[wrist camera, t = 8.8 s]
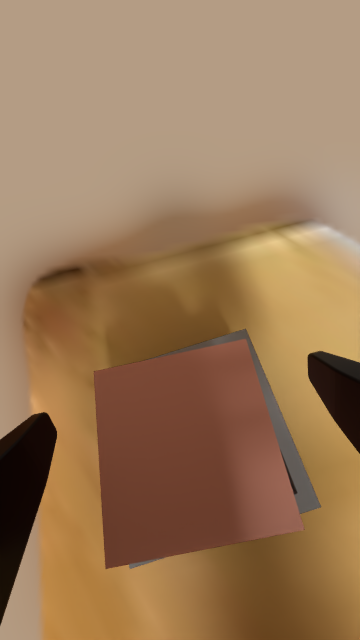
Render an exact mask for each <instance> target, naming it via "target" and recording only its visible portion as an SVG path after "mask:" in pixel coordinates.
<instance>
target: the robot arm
mask: <svg viewBox="0 0 360 640" xmlns="http://www.w3.org/2000/svg"><path fill="white" fill-rule="evenodd" d="M308 376H309V379H310V382H311V383H312V385H313V387H314V388H315V390H316V391H317V393H318V395H319V396H320V398H321V400H322V401H323V403H324V405H325V406H326V408H327V410H328V411H329V413H330V414H331V416H332V417H333V419H334V421H335V422H336V423H337V425H338V426H339V427H340V429H341V430H342V431H343V433H344V434H345V435H346V437H347V438H348V439H349V441H350V442H351V443H352V444H353V446H354V447H355V448H356V450H357V451H358V452H359V454H360V363H359V362H356V361H353V360H350V359H346V358H343V357H340V356H336V355H333V354H330V353H326V352H323V351H318V352H314V353H310V354H309V355H308ZM56 439H57V431H56V428H55V426H54V424H53V423H52V421H51V419H50V417H49V415H48V414H47V413H45V412H43V413H38V414H34V415H32V416H31V417H29V418H28V419H27V420H25V421H24V422H23V423H21V424H20V425H19V426H17V427H16V428H15V429H14V430H12V431H11V432H10V433H8V434H7V435H6V436H5V437H3V438H2V439H0V625H1V622H2V619H3V616H4V613H5V609H6V607H7V604H8V600H9V597H10V594H11V591H12V588H13V585H14V582H15V579H16V576H17V573H18V570H19V567H20V564H21V560H22V557H23V554H24V551H25V548H26V545H27V542H28V539H29V536H30V533H31V530H32V527H33V523H34V520H35V517H36V514H37V511H38V508H39V505H40V502H41V499H42V496H43V493H44V489H45V486H46V483H47V479H48V475H49V470H50V466H51V461H52V457H53V452H54V448H55V443H56Z"/></svg>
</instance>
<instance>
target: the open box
mask: <svg viewBox="0 0 360 640" xmlns="http://www.w3.org/2000/svg"><path fill="white" fill-rule="evenodd" d="M242 339H246V340H247V344H248V347H249V350H250V353H251V357H252V360H253V363H254V366H255V370H256V373H257V376H258V379H259V383H260V386H261V389H262V392H263V396H264V399H265V402H266V406H267V409H268V412H269V415H270V419H271V422H272V425H273V428H274V432H275V435H276V438H277V441H278V445H279V448H280V451H281V454H282V458H283V461H284V464H285V467H286V471H287V474H288V477H289V480H290V484H291V487H292V490H293V493H294V497H295V500H296V503H297V506H298V510H299V513H300V514H302V513H305V512H308V511H311V510H314V509H317V508H320V507H321V505H320V503H319V501H318V498H317V496H316V494H315V491H314V489H313V486H312V484H311V482H310V479H309V477H308V475H307V472H306V470H305V468H304V465H303V463H302V460H301V458H300V456H299V453H298V451H297V449H296V446H295V444H294V442H293V439H292V437H291V434H290V432H289V430H288V427H287V425H286V423H285V420H284V418H283V416H282V413H281V411H280V408H279V406H278V404H277V401H276V399H275V397H274V394H273V392H272V390H271V387H270V385H269V382H268V380H267V378H266V375H265V373H264V371H263V368H262V366H261V364H260V361H259V359H258V356H257V354H256V352H255V349H254V347H253V345H252V342H251V340H250V338H249V335H248V333H247V330H246V329H243V330H240V331H237V332H234V333H231V334H227V335H224V336H221V337H218V338H215V339H211V340H208V341H205V342H202V343H199V344H195V345H192V346H189V347H186V348H183V349H179V350H176V351H173V352H170V353H167V354H163V355H160V356H157V357H154V358H159V357H163V356H168V355H173V354H177V353H182V352H186V351H191V350H196V349H200V348H205V347H210V346H214V345H219V344H224V343H228V342H233V341H238V340H242ZM154 358H151V359H154ZM147 360H149V359H147ZM144 361H145V360H144ZM164 558H165V557H164ZM159 559H162V558H159ZM159 559H154V560H148V561H143V562H138V563H133V564H129V567H130V569H131V568H135V567H138V566H141V565H144V564H147V563H150V562H153V561H156V560H159Z"/></svg>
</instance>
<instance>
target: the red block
mask: <svg viewBox="0 0 360 640" xmlns="http://www.w3.org/2000/svg"><path fill="white" fill-rule="evenodd" d="M94 384H95V400H96V417H97V434H98V450H99V467H100V484H101V500H102V517H103V534H104V550H105V567H106V569H108V568H113V567H118V566H123V565H128V564H133V563H138V562H143V561H148V560H154V559H159V558H164V557H169V556H174V555H179V554H184V553H189V552H194V551H199V550H205V549H210V548H215V547H220V546H225V545H230V544H235V543H240V542H245V541H250V540H256V539H261V538H266V537H271V536H276V535H281V534H286V533H291V532H296V531H301V530H305V529H304V526H303V523H302V519H301V516H300V513H299V510H298V506H297V503H296V500H295V497H294V493H293V490H292V487H291V484H290V480H289V477H288V474H287V471H286V467H285V464H284V461H283V458H282V454H281V451H280V448H279V445H278V441H277V438H276V435H275V432H274V428H273V425H272V422H271V419H270V415H269V412H268V409H267V406H266V402H265V399H264V396H263V392H262V389H261V386H260V383H259V379H258V376H257V373H256V370H255V366H254V363H253V360H252V357H251V353H250V350H249V347H248V344H247V340H246V339H242V340H238V341H233V342H228V343H224V344H219V345H214V346H210V347H205V348H200V349H196V350H191V351H186V352H182V353H177V354H173V355H168V356H163V357H159V358H154V359H149V360H145V361H140V362H135V363H131V364H126V365H121V366H117V367H112V368H107V369H103V370H98V371H94Z"/></svg>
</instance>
